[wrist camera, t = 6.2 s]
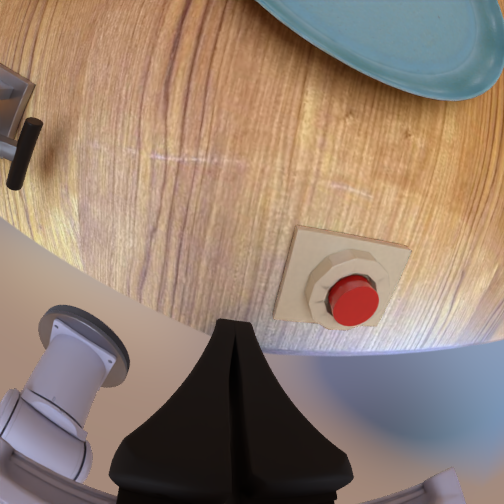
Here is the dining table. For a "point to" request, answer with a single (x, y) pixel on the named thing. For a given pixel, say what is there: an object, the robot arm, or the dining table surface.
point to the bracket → (12, 100)
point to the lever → (20, 151)
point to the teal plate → (406, 41)
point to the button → (353, 300)
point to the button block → (335, 274)
